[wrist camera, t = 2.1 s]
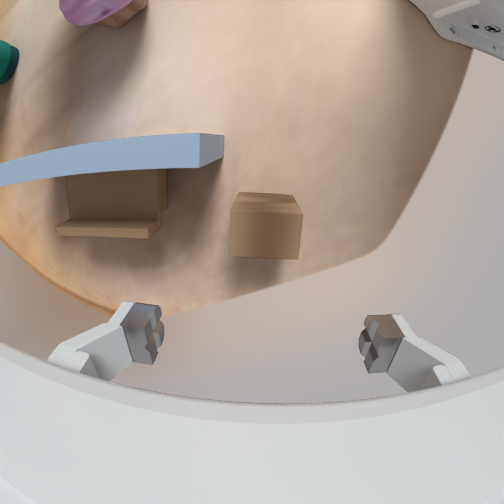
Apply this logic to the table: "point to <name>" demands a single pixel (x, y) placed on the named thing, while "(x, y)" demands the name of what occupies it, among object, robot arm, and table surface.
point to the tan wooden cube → (265, 226)
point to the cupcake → (101, 11)
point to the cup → (7, 61)
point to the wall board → (116, 180)
